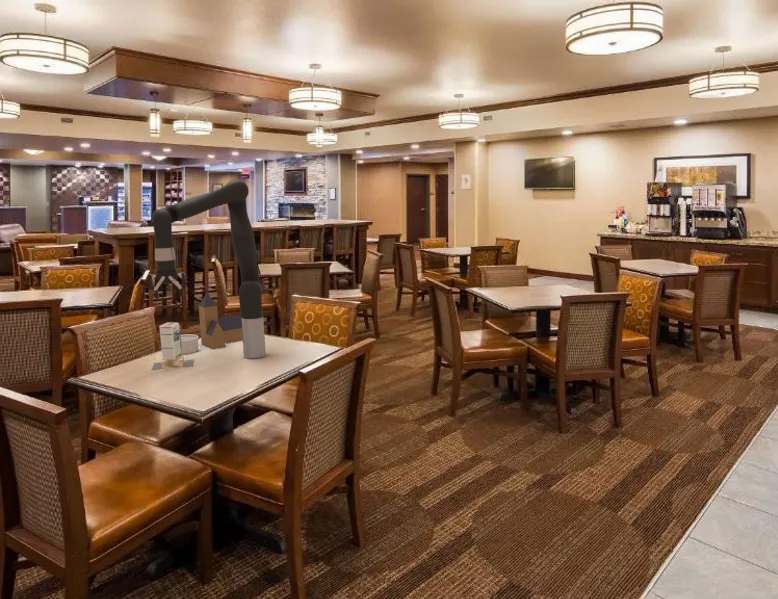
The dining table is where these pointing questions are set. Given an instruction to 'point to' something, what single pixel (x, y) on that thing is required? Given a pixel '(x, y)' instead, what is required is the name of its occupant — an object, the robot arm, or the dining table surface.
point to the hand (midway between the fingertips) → (169, 298)
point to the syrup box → (170, 341)
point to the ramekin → (189, 343)
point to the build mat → (186, 364)
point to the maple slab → (173, 363)
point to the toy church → (218, 325)
